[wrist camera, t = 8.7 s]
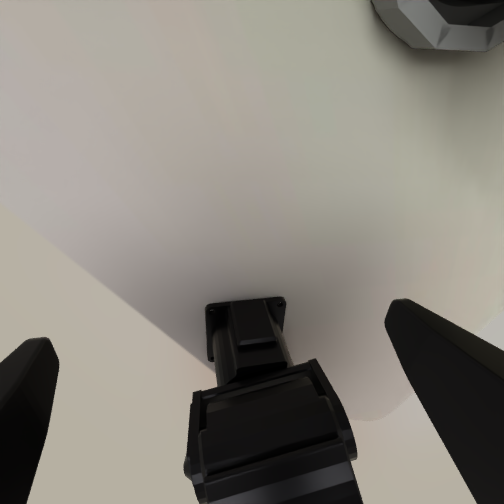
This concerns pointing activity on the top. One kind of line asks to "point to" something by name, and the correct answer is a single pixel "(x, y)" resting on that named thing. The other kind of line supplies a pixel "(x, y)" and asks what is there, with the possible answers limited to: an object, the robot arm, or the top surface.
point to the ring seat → (443, 24)
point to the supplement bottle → (468, 2)
